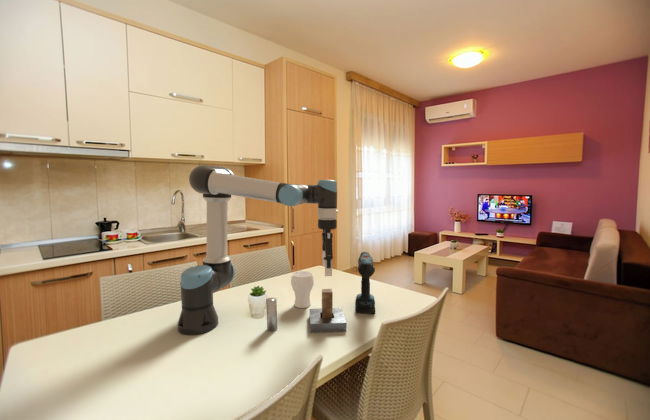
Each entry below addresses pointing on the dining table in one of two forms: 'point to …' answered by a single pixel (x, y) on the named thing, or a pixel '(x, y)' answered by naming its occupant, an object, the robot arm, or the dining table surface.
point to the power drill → (365, 285)
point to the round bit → (271, 314)
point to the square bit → (327, 303)
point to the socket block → (327, 321)
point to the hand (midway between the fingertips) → (326, 270)
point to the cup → (302, 288)
